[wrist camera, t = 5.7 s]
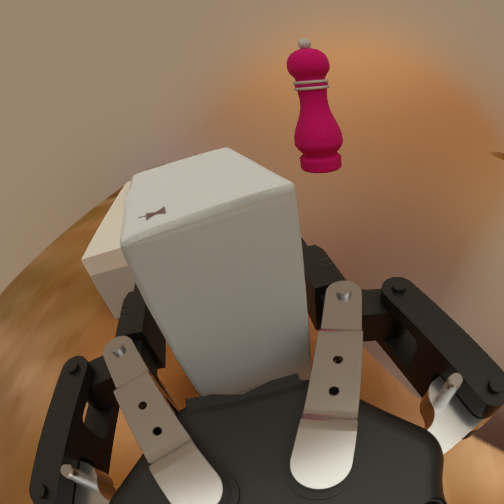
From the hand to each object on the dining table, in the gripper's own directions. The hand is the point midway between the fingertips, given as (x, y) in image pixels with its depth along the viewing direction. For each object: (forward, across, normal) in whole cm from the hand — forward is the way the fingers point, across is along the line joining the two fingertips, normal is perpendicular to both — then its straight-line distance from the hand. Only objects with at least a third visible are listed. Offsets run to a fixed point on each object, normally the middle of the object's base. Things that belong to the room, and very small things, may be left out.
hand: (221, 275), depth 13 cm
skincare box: (-2, 0, +7) cm, 7 cm away
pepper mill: (+30, -17, +7) cm, 35 cm away
